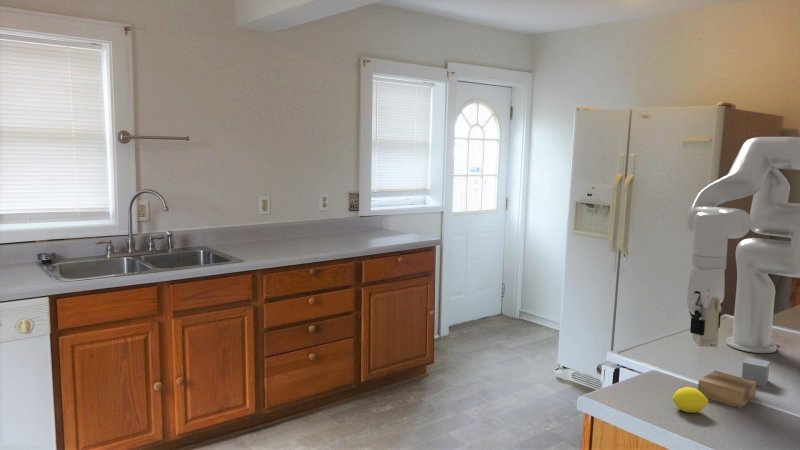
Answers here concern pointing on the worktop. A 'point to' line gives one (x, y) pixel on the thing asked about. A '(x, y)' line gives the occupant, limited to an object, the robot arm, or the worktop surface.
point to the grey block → (756, 370)
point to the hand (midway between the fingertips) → (705, 329)
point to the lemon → (689, 400)
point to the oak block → (727, 388)
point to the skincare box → (709, 326)
